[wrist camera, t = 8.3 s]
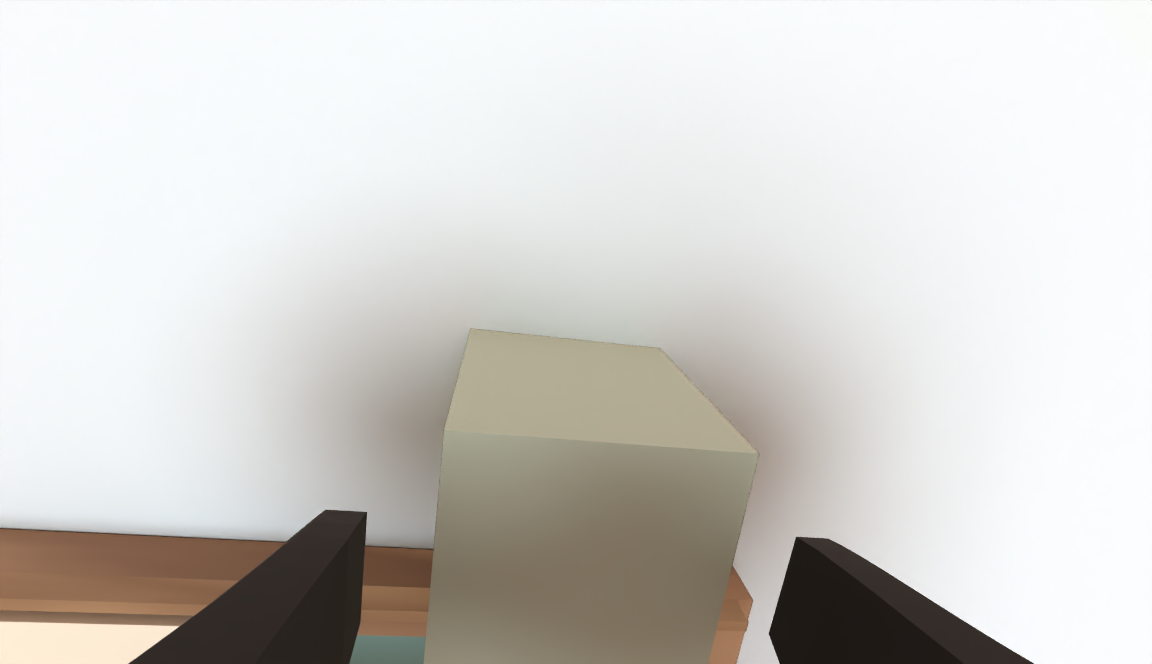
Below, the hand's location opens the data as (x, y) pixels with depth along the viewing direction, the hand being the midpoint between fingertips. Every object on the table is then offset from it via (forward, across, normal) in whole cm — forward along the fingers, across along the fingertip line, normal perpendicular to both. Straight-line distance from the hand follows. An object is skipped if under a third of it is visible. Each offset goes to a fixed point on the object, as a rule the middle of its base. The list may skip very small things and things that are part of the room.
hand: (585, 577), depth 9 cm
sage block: (+6, 0, 0) cm, 6 cm away
